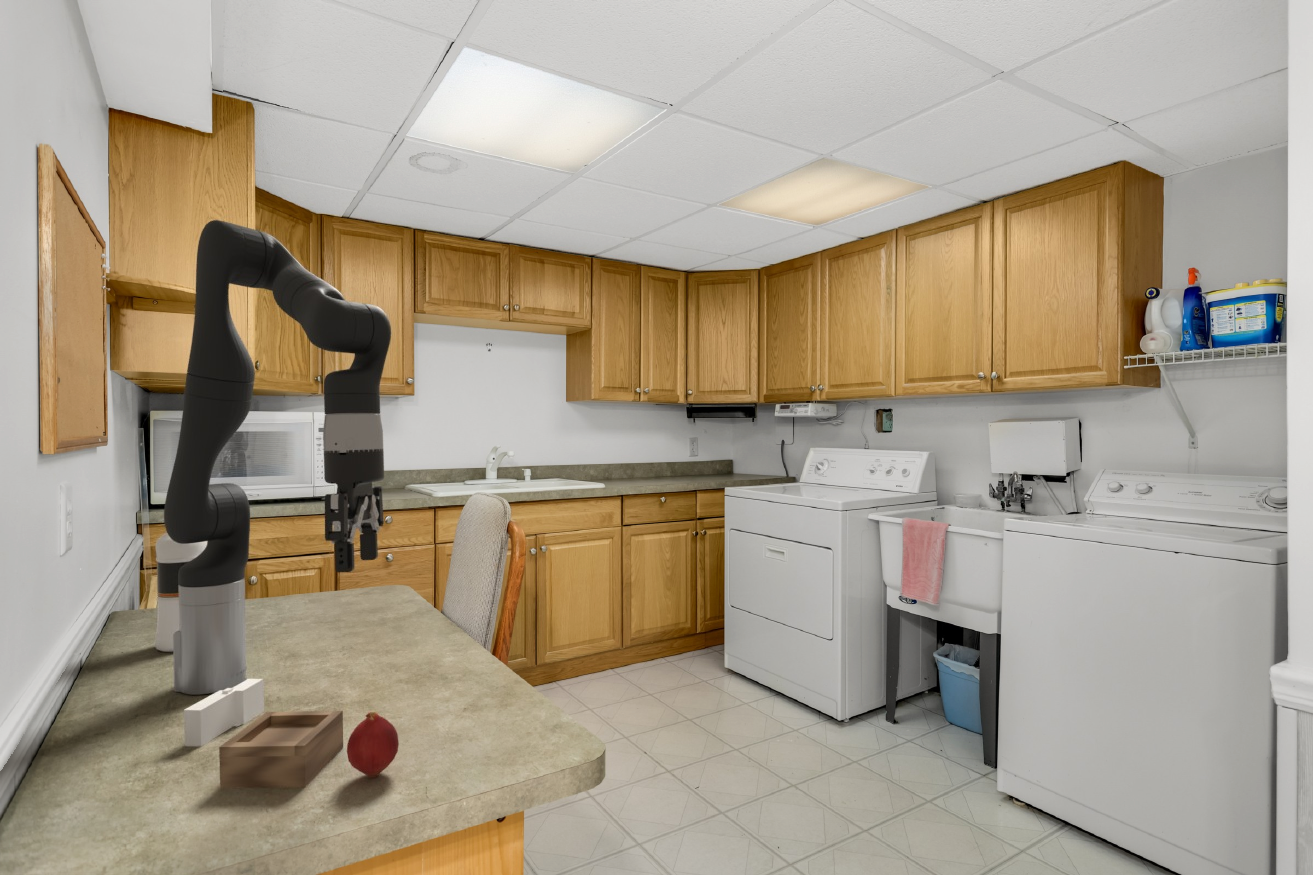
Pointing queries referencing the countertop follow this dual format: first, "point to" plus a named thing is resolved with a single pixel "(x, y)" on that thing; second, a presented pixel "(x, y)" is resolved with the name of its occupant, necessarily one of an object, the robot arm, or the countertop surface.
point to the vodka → (170, 586)
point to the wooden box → (281, 750)
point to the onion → (372, 745)
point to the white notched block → (223, 711)
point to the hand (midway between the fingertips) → (357, 565)
